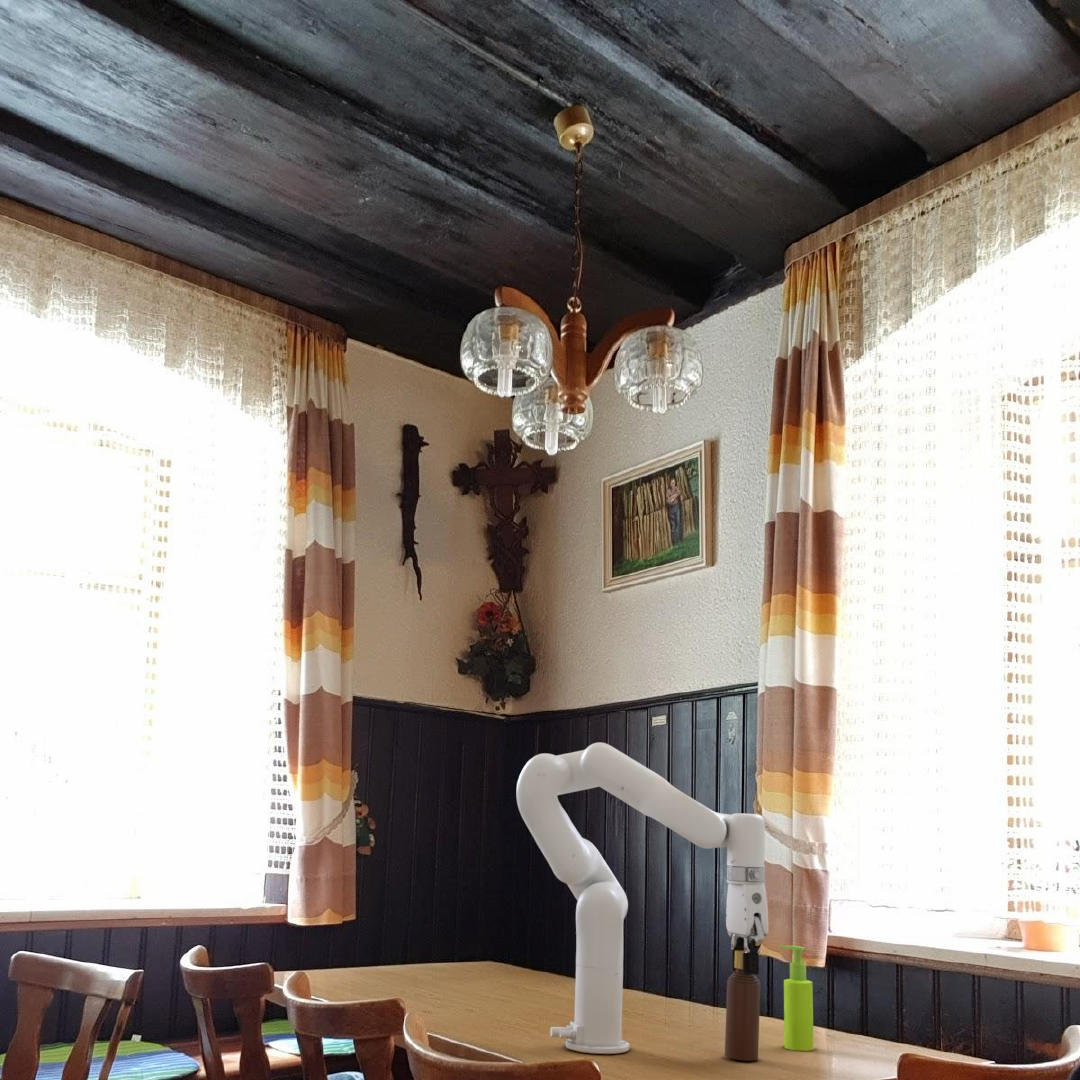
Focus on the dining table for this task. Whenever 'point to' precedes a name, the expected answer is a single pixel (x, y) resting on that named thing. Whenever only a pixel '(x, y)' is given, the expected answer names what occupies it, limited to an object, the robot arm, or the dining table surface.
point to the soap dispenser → (798, 1005)
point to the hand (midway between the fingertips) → (745, 971)
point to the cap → (738, 959)
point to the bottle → (742, 1016)
